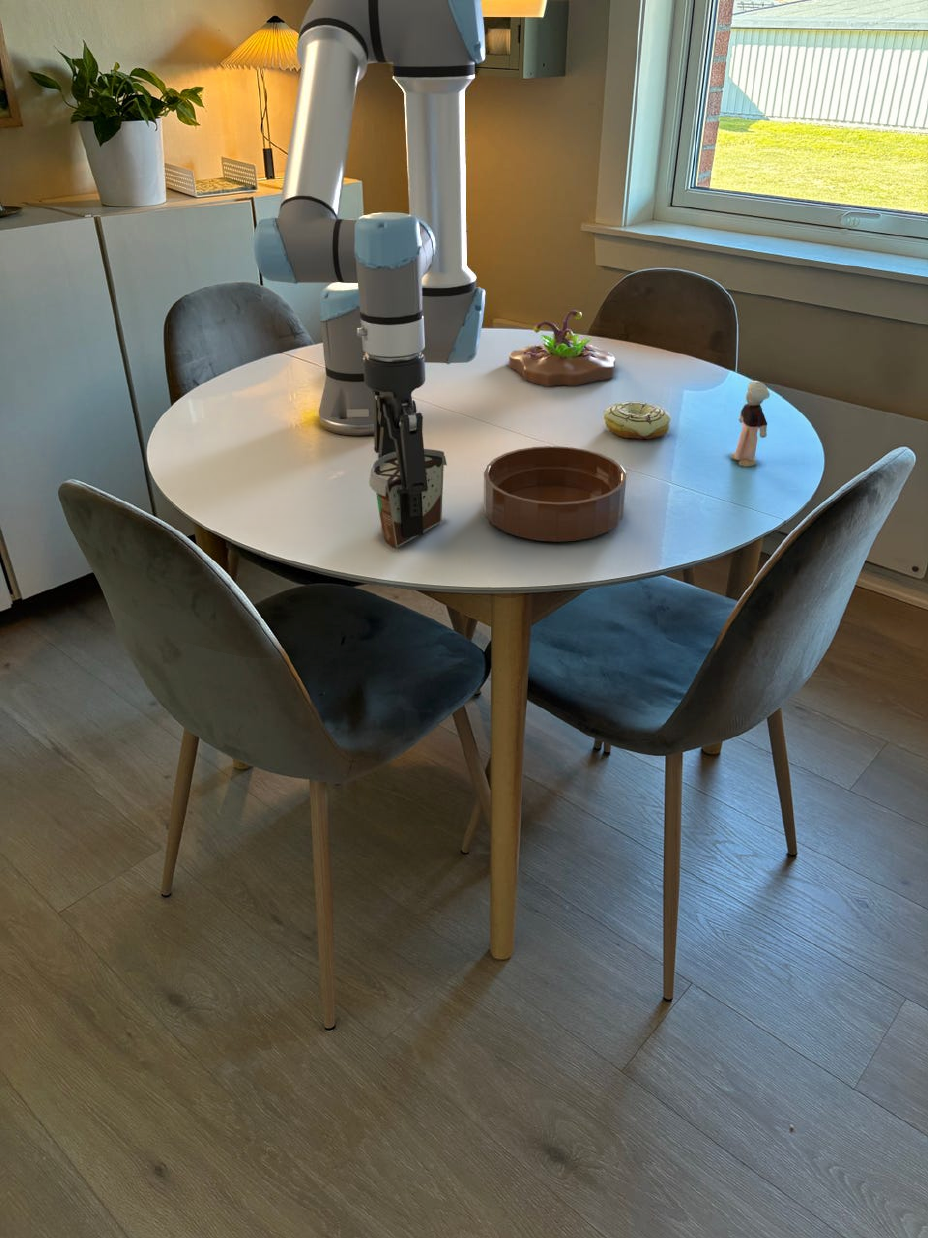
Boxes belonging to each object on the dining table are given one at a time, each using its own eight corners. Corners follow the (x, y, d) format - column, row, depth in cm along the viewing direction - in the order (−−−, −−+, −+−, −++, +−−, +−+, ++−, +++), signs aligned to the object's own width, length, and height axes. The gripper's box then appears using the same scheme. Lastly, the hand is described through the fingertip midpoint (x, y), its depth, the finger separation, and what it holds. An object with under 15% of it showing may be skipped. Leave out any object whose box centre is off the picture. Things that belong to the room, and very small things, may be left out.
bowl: (464, 496, 135) (464, 457, 131) (583, 476, 140) (586, 438, 137) (516, 556, 119) (517, 513, 116) (648, 530, 125) (652, 489, 122)
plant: (631, 379, 177) (636, 320, 171) (534, 390, 173) (536, 329, 167) (590, 350, 194) (593, 294, 188) (500, 359, 189) (501, 303, 183)
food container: (414, 507, 132) (411, 440, 127) (448, 518, 129) (446, 450, 123) (354, 539, 124) (348, 469, 118) (388, 552, 121) (383, 481, 115)
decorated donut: (651, 447, 149) (654, 425, 147) (592, 433, 154) (594, 411, 152) (678, 427, 156) (681, 405, 154) (621, 414, 162) (623, 393, 160)
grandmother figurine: (719, 455, 146) (731, 376, 139) (739, 451, 147) (752, 372, 141) (750, 473, 140) (764, 391, 133) (771, 469, 141) (786, 387, 135)
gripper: (342, 333, 120) (355, 494, 132) (388, 381, 104) (398, 560, 116) (397, 327, 122) (405, 486, 135) (451, 373, 106) (455, 550, 118)
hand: (402, 520), depth 125 cm, fingers open, 8 cm apart
